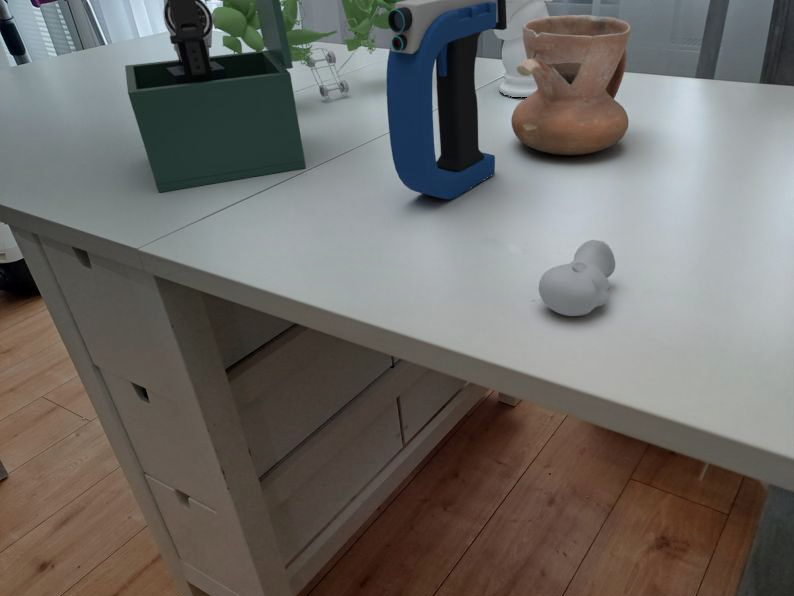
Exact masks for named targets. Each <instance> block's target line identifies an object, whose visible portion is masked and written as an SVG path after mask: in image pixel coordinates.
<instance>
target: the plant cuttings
mask: <svg viewBox="0 0 794 596" xmlns="http://www.w3.org/2000/svg"><path fill="white" fill-rule="evenodd" d="M209 1H210V0H204V4H207V2H209ZM220 1H221V2H222V6H217V7H215V8H214V9H213V11H212V12H211V14H213V13H214V14H215V17H216V21H214V22H213V28H214V30H220V31H222V32H224V33H226V34H228V35H223V36H222V46H221V47H222V48H223V47H225V48H227V49H229V50H230V51H233V54H238V53H243V45H242V42H243V43H244V44H245V45H246V46H247V47H249V48H250V49H251V50H253V51H255V52H256V51H264V49H265V50H267V49H266V48H265V46H264V42H263V37H262V34H261V33H260V32H259V31H258V30H261V28H260V24H259V19H258V15H257V10H256V5H255V1H254V0H219V2H220ZM402 1H406V0H341V3H342V4H341V5H342V7H343V12H344V15H345V18H346V20H345V21H344V28H343V29H344V35H346V37H347V38H345V39H343V40H342V42H343V44H344V45H346V48H347V51H348V52H352V54H351V55H350V56H349V57H348V58H347V60H346V61H345V62H344V63H343V64H342V66H341V67H340V68H339V69H338V70H337V69H336V62H337V58H336V54H335V53H334V52H333V50H328V49H327V48H324V47H323V48H322V47H319V48H313V44H312V43H315V42H317V41H319V40H321V39H323V38H328V37H329V36H331V35H334V34H337V33H338V30H337V29H334V30H332V31H329V32H324V33H323V32H319V31H315V30H311V29H306V26H305V25H304V26H302V27H301V28H296V29H294V27H295V25H296V26H300V24H301V22H302V21H303V20H304V19H305V17H306V10H305V7H304V5H303V2H302V1H300V0H280V4H281V7H283V8H282V14H283V19H284V24H285V30H286V35H287V40H288V45H289V50H290V55H291V60H292V63H293V62H294V63H295V62H300V64H301V65H305V66H306V67H307V68H309V69H310V71H311V73H312V75H313V77H314V80H315V81H316V84H317V86H318V88H319V94H320V96H321V97H322V98H324V99H326V100H328V101H338V100H341V99H343V98H344V97H345V95H346V94H348V92H349V90H350V88H349V84H348V82H347V81H346V80H345V79H343V80H341V78H340V75H339V71H341V69H342V68H343V67H344V66H345V65H346V64H347V63H348V61H349V60H350V59H351V58H352V57H353V55H354V53H355V52H353V51H357V50H358V49H359V48H361V46H363V47H364V48H367V49H366V51H368V52H369V55H372V54H373V52H375V51H376V49H377V46H376V45H377V44H376V34H374V35H373V36H372V37H373V38H371V35H370V34H371V33H372V32H373V30H374V29H375V27H376V28H379V29H381V30H389V29H391V28H390V26H389V23H388V15H389V13H390V11H391V10H393V9H395V3H397V2H402ZM298 4H300V5H301V7H302V9H303V16H302V18H301V19H299V20H298V19H297V18H298V14H299V13H298V11H299V9H298V8H299V7H298ZM380 9H385V11H383V12H382V13H379V11H380ZM347 24H348V26H349V27H348V26H347ZM346 29H347V32H352V34H351V36H349V35H347V32H346ZM352 37H353V38H352ZM240 39H241V40H242V41H241V40H240ZM304 45H305V47H304ZM300 46H301V47H300ZM316 50H321V52H322V53H323V55H324V58H319V59H315V58H314V57H313V56H312V55H313V54H314V53H313V51H316ZM324 50H325V51H326V52H327V54H326V53H325V51H324ZM302 61H303V62H302ZM323 61H326V62H327V65H324V66H320V67H316V63H319V62H323ZM328 67H329V69H330V72H331V74H332V77H333V79H334V80H335V83H329V84H324V83H323V80H322V79H321V76H320V74H319V71H318V70H317V69H323V68H328ZM331 67H334V69H335V74H336V75H337V78H338V80H339V81H340V82H338V81H337V79H336V77H335V76H336V75H334V72H333V70H332V68H331ZM313 70H315V71H316V74H317V76H318V78H319V80H320V82H321V84H319V82H318V80H317V78H316V75H315V73H314V71H313ZM332 85H333V86H334V85H337V87H333V88H328V86H332ZM336 90H339V91H340V94H341V97H339V98H335V99H334V98H330V96H329V92H332V91H336ZM343 93H344V94H343Z"/></svg>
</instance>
